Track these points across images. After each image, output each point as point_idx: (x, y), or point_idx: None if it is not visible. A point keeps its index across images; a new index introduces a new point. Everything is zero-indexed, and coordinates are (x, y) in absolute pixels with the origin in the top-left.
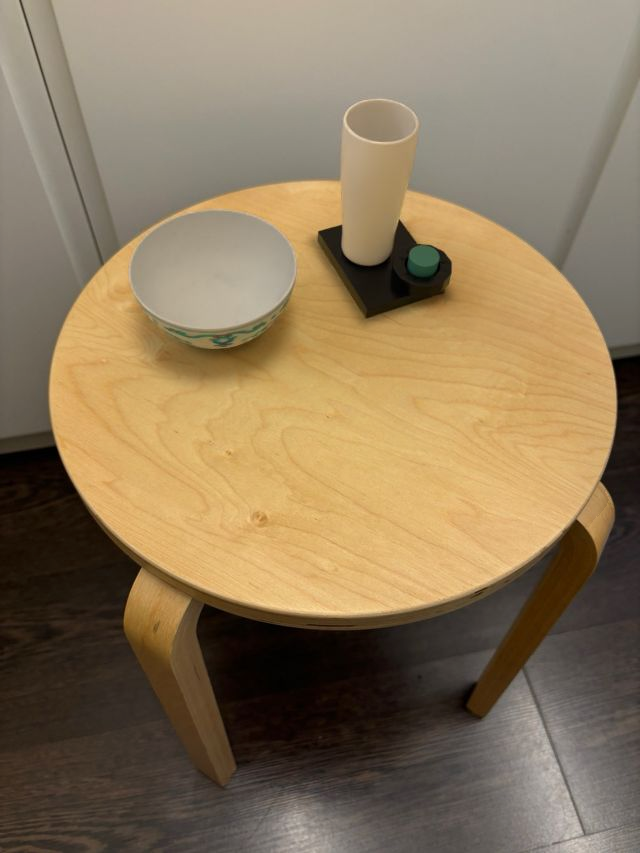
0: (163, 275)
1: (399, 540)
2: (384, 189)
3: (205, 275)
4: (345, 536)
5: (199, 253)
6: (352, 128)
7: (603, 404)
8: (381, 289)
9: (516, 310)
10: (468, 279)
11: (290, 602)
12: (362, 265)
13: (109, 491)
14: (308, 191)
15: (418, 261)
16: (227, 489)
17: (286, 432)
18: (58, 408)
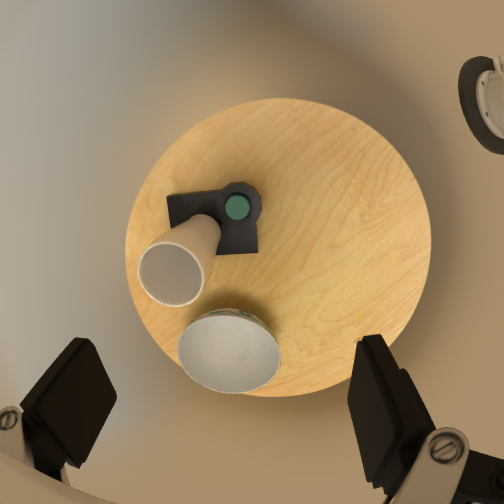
0: (206, 361)
1: (398, 287)
2: (213, 263)
3: (204, 336)
4: (384, 309)
5: (193, 342)
6: (153, 279)
7: (377, 135)
8: (243, 236)
9: (286, 143)
10: (245, 163)
11: (395, 336)
12: None
13: (314, 386)
14: (129, 242)
15: (242, 215)
16: (337, 349)
17: (321, 319)
18: (263, 396)
